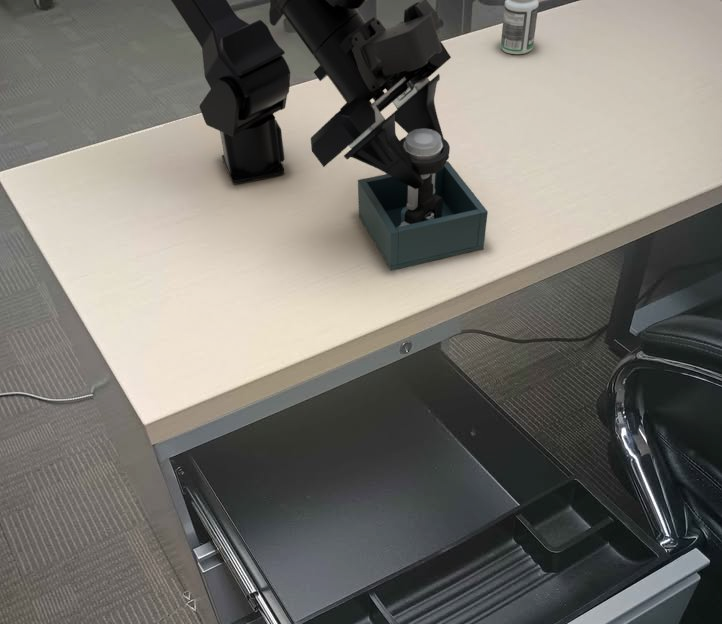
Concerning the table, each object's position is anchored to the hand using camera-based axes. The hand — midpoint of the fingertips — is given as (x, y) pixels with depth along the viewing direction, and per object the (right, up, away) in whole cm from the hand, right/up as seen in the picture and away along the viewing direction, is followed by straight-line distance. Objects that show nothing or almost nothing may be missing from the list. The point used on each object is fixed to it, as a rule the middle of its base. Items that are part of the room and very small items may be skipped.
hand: (432, 173), depth 78 cm
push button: (-1, -4, +6) cm, 7 cm away
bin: (-1, -4, +6) cm, 7 cm away
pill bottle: (+15, +32, +34) cm, 49 cm away
